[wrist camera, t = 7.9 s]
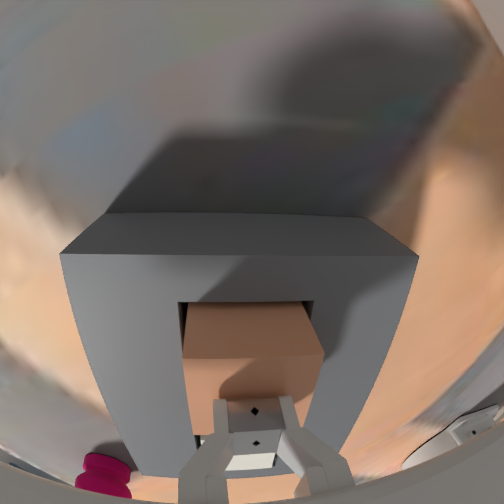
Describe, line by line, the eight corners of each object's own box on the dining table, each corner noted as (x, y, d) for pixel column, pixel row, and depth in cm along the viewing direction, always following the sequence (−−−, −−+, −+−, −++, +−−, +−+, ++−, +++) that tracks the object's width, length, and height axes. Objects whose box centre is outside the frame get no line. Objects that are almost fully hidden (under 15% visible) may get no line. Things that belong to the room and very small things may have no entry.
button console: (366, 217, 18) (419, 256, 13) (314, 417, 26) (330, 466, 20) (104, 213, 16) (59, 253, 11) (148, 422, 24) (142, 474, 18)
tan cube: (293, 286, 15) (324, 353, 10) (282, 360, 17) (302, 428, 12) (190, 286, 14) (181, 358, 10) (195, 362, 16) (193, 434, 12)
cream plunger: (268, 383, 21) (279, 436, 17) (262, 420, 23) (271, 467, 18) (200, 385, 20) (200, 440, 16) (204, 421, 22) (205, 470, 18)
